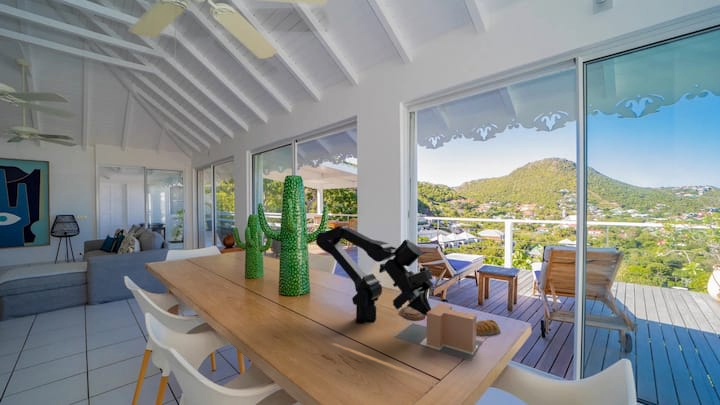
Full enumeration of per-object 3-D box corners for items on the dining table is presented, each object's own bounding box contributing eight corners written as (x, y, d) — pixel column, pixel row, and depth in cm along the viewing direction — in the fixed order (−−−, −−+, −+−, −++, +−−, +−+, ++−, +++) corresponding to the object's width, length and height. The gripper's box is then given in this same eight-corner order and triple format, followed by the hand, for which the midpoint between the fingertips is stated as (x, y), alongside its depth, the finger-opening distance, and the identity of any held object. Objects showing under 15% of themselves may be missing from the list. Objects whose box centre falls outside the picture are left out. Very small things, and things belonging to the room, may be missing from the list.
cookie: (408, 324, 99) (409, 315, 99) (394, 313, 109) (394, 305, 109) (433, 320, 103) (433, 312, 103) (416, 310, 113) (416, 302, 113)
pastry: (480, 340, 88) (480, 327, 88) (464, 331, 94) (464, 319, 94) (502, 335, 92) (502, 323, 92) (485, 327, 98) (485, 315, 98)
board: (394, 338, 88) (394, 336, 88) (412, 324, 98) (412, 323, 98) (471, 363, 75) (471, 360, 75) (482, 343, 85) (483, 341, 85)
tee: (426, 344, 83) (426, 312, 84) (438, 332, 92) (439, 303, 92) (469, 357, 77) (469, 322, 77) (478, 342, 85) (479, 311, 85)
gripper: (402, 264, 84) (439, 311, 77) (427, 255, 99) (460, 294, 92) (379, 287, 88) (412, 333, 81) (406, 275, 103) (436, 313, 97)
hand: (432, 317), depth 88 cm, fingers closed, pressing on tee
